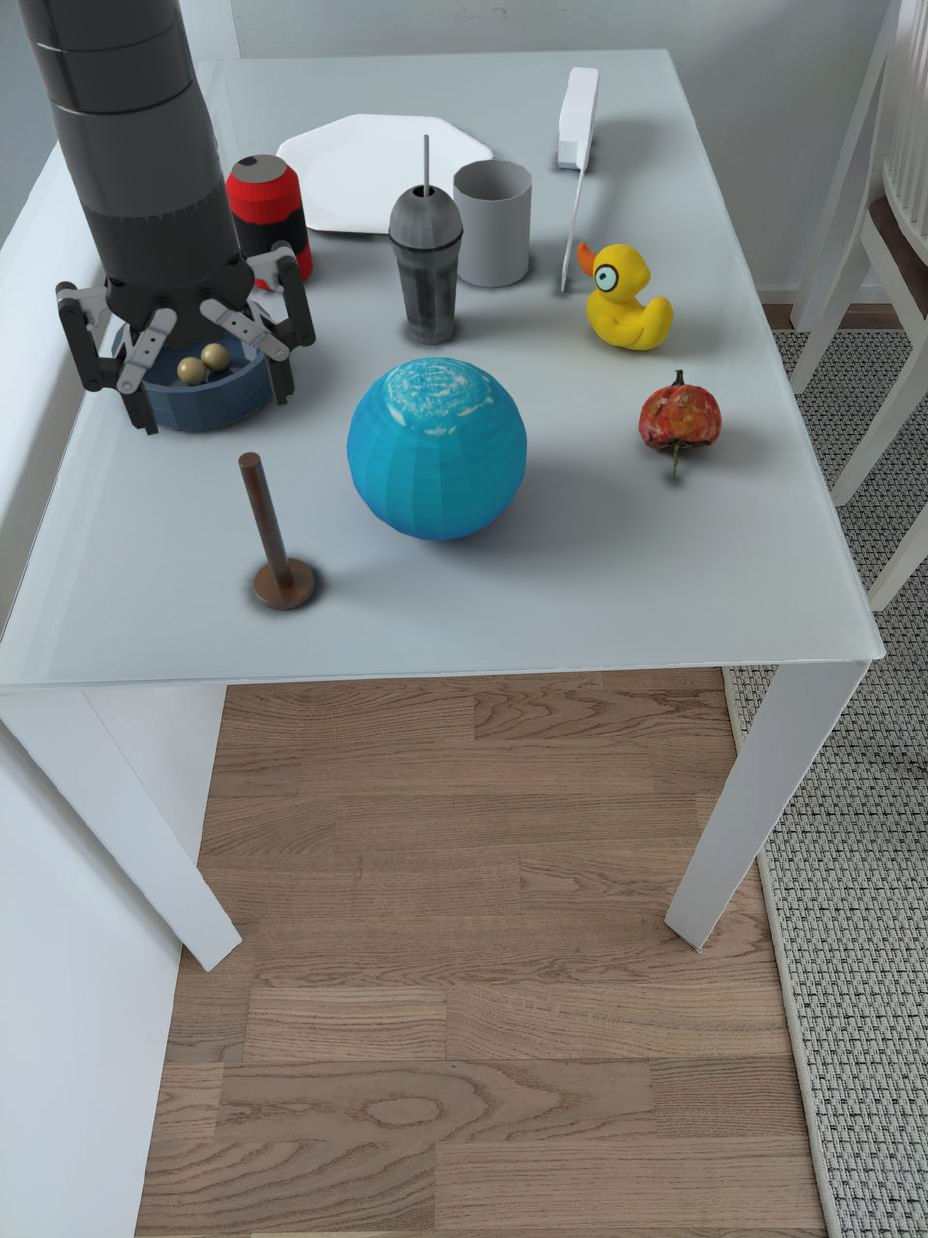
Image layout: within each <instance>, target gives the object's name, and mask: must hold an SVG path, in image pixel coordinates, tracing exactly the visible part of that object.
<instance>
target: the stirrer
mask: <svg viewBox="0 0 928 1238" xmlns="http://www.w3.org/2000/svg"><path fill="white" fill-rule="evenodd" d="M237 463H238V467H239V470H240V474H241V476H242V480H243V483H244V487H245V490H246V493H247V497H248V500H249V504H250V507H251V511H252V514H253V517H254V520H255V524H256V527H257V530H258V534H259V537H260V541H261V544H262V547H263V550H264V554H265V557H266V561H267V563H266V564H264V565H263V566H262V567H261V568H260V569H259V570H258V571H257V573H256V574H255V577H254V580H253V590H254V593H255V595H256V598H257V600H258V601H259V602H260V603H261V604H262V605H264V606H265V607H267V608H268V609H273V610H276V611H286V610H292V609H294V608H297V607H299V606H301V605H303V604H304V603H305V602H306V601H308V599H310V597H311V596H312V594H313V592H314V590H315V587H316V586H315V584H316V581H315V576H314V573H313V571H312V569H311V567H310V566H309V565H308V564H307V563H306V562H304V561H302V560H300V559H297V558H293V557H288V555H287V551H286V547H285V543H284V539H283V536H282V533H281V529H280V524H279V521H278V517H277V514H276V510H275V505H274V502H273V499H272V495H271V491H270V488H269V485H268V480H267V477H266V474H265V470H264V469H265V468H264V466H263V462H262V458H261V456H260V454H258V453H257V452H254V451H248V452H247V451H246V452H244V453H242V454H241V455H239V458H238V459H237Z"/></svg>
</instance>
